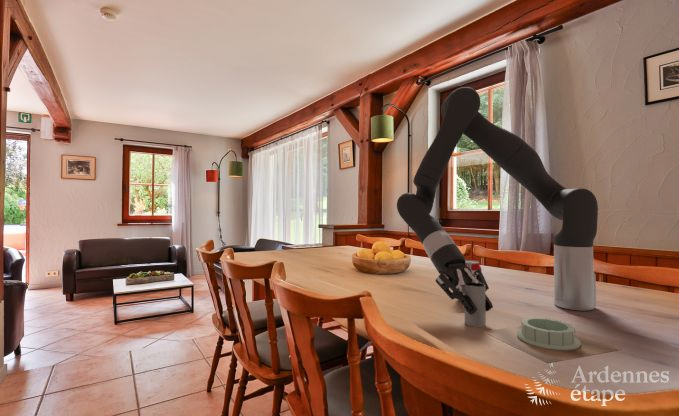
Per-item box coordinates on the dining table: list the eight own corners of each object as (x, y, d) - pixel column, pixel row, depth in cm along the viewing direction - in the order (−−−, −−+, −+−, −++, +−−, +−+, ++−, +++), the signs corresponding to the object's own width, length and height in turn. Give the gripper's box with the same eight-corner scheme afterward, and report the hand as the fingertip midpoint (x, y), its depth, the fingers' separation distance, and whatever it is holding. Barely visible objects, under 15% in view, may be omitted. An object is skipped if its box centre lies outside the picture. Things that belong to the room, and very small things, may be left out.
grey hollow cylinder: (461, 325, 82) (461, 282, 82) (479, 324, 82) (479, 281, 82) (470, 332, 77) (469, 286, 77) (489, 331, 78) (489, 286, 78)
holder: (544, 327, 76) (544, 313, 76) (594, 346, 66) (594, 330, 66) (504, 333, 73) (504, 319, 73) (550, 354, 63) (550, 337, 63)
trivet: (547, 327, 80) (547, 322, 80) (621, 355, 65) (621, 349, 65) (483, 336, 74) (482, 331, 74) (547, 369, 59) (547, 362, 59)
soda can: (484, 305, 99) (483, 263, 99) (458, 303, 100) (458, 262, 100) (479, 298, 106) (479, 259, 106) (455, 297, 107) (455, 259, 107)
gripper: (428, 244, 83) (468, 306, 72) (470, 241, 90) (513, 298, 79) (414, 263, 88) (450, 324, 77) (455, 259, 94) (493, 314, 84)
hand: (481, 310), depth 78 cm, fingers closed on grey hollow cylinder, 4 cm apart
